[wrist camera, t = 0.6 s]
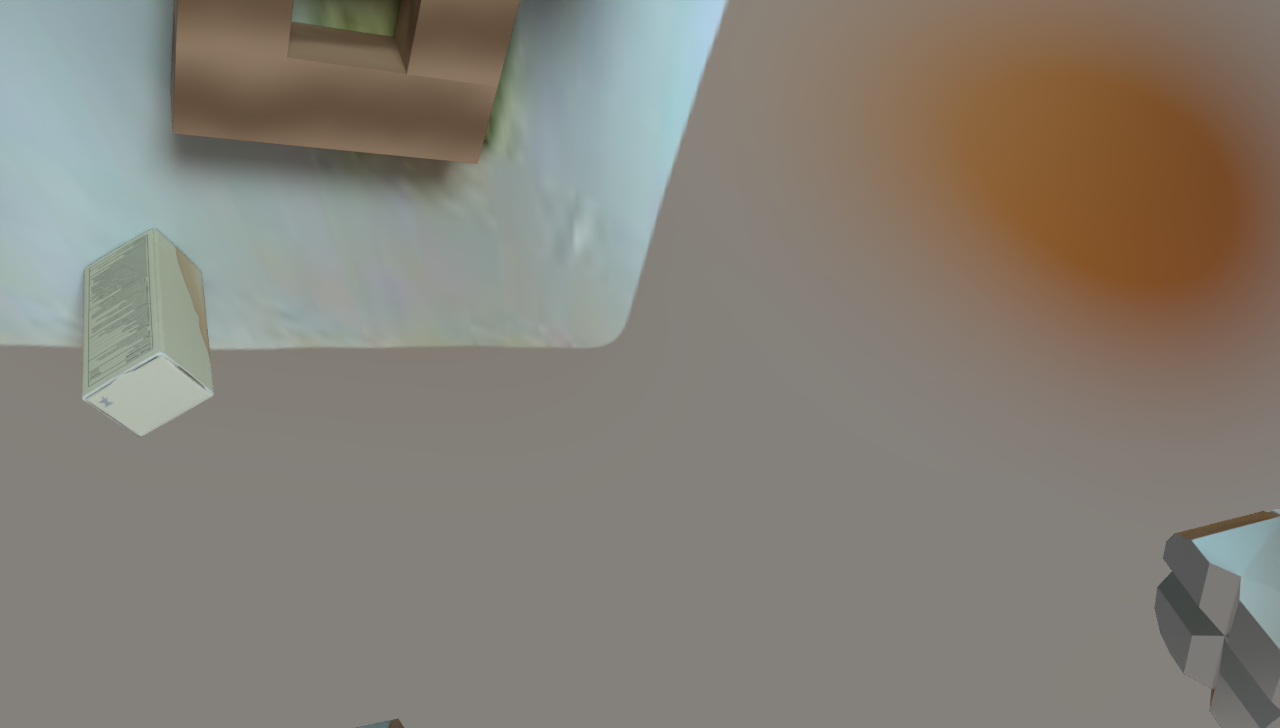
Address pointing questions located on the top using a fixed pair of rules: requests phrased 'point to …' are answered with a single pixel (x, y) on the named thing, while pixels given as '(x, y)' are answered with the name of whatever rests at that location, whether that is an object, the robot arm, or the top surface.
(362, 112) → the square hole block
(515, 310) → the top surface
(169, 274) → the box
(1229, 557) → the robot arm
